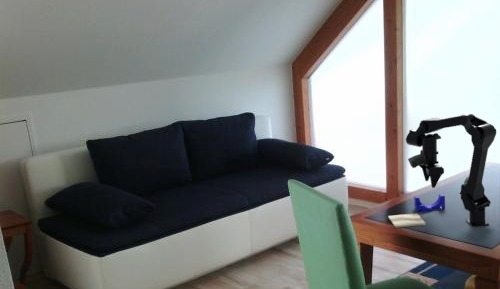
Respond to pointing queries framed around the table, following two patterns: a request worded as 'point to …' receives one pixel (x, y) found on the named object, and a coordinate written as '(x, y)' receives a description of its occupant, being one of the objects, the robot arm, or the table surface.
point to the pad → (406, 220)
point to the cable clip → (423, 208)
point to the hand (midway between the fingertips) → (430, 184)
